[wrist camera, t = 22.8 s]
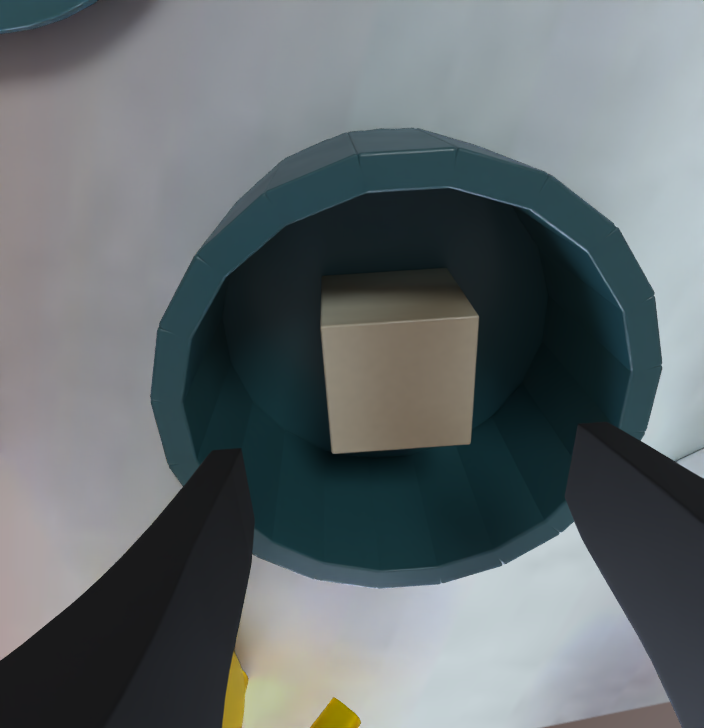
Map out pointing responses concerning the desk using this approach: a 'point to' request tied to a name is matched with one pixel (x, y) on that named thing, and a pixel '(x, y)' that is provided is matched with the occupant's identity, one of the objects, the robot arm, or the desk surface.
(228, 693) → the figure statuette
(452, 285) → the block
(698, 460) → the jar
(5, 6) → the lid
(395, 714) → the desk surface
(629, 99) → the desk surface
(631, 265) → the tin
